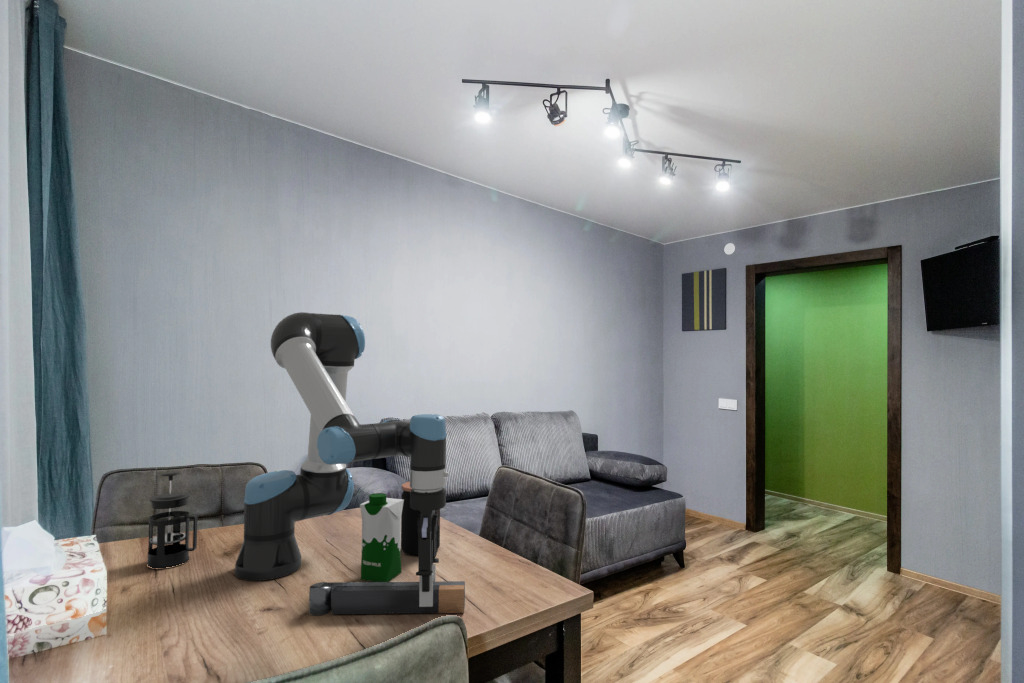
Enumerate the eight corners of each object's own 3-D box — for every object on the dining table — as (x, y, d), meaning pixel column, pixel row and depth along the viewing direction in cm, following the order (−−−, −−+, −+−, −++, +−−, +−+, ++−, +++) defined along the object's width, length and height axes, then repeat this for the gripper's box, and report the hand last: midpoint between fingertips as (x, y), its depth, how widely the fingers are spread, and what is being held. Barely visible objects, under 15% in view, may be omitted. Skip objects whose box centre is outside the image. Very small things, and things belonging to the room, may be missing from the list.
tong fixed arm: (306, 615, 110) (306, 591, 110) (313, 606, 115) (313, 582, 115) (463, 614, 111) (464, 589, 112) (464, 604, 116) (465, 580, 116)
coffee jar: (436, 557, 144) (437, 489, 144) (396, 556, 144) (397, 488, 144) (442, 543, 154) (443, 480, 155) (405, 543, 154) (406, 480, 155)
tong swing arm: (331, 614, 110) (332, 590, 110) (334, 609, 112) (334, 586, 113) (463, 612, 111) (464, 589, 112) (464, 608, 113) (464, 585, 114)
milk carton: (354, 580, 128) (356, 495, 129) (376, 567, 136) (377, 487, 137) (387, 586, 125) (388, 499, 126) (406, 571, 134) (407, 490, 134)
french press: (135, 570, 133) (138, 477, 134) (154, 557, 142) (157, 469, 143) (187, 568, 135) (189, 475, 136) (202, 554, 144) (204, 468, 145)
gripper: (442, 498, 106) (441, 619, 105) (448, 479, 123) (448, 583, 122) (403, 498, 105) (402, 620, 105) (415, 479, 123) (415, 584, 122)
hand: (427, 600), depth 113 cm, fingers open, 4 cm apart
